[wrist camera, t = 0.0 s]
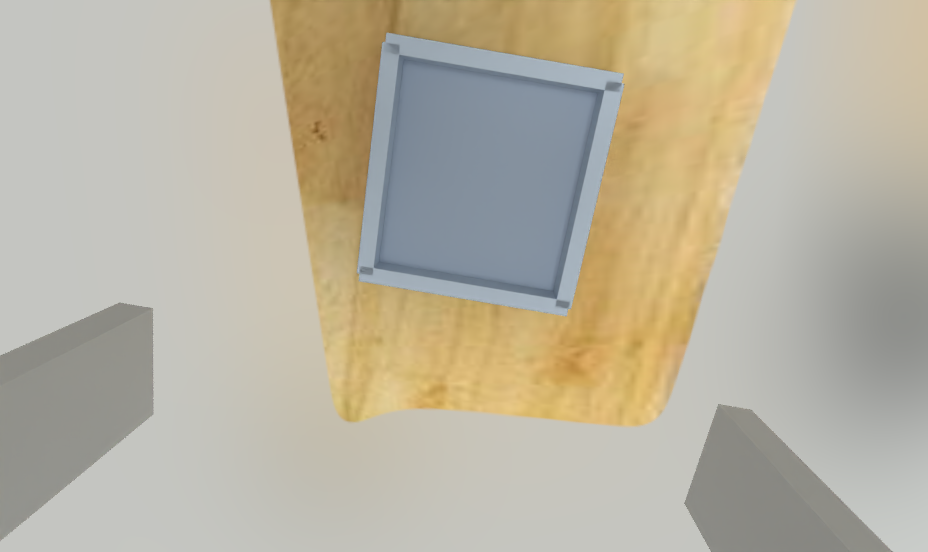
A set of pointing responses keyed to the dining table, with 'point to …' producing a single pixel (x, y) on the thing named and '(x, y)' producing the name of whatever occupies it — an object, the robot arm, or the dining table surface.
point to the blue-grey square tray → (484, 173)
